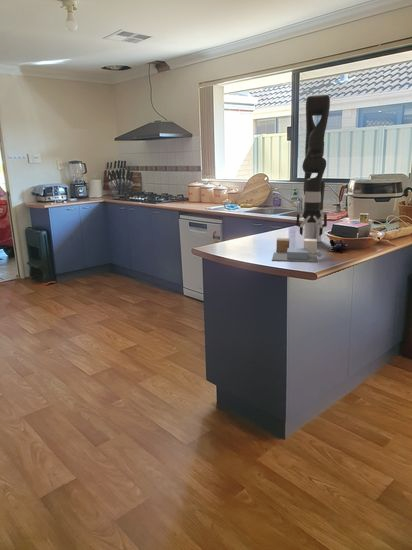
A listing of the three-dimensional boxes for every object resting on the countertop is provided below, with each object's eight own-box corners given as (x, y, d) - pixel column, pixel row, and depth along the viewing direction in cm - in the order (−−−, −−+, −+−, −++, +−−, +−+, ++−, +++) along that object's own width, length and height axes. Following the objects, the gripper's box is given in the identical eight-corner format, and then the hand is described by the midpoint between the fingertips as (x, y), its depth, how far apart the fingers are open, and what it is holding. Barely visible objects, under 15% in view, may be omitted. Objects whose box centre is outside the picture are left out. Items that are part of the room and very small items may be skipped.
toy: (327, 249, 208) (327, 235, 220) (331, 260, 210) (331, 246, 222) (346, 244, 204) (346, 230, 216) (350, 255, 206) (349, 241, 219)
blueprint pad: (273, 253, 207) (274, 246, 206) (316, 254, 203) (317, 247, 202) (271, 260, 192) (272, 253, 191) (318, 262, 188) (318, 254, 187)
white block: (303, 250, 213) (304, 238, 212) (316, 251, 212) (316, 239, 210) (303, 253, 207) (304, 240, 206) (316, 253, 206) (317, 241, 205)
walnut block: (276, 249, 216) (277, 238, 214) (289, 250, 215) (289, 238, 213) (276, 252, 210) (276, 240, 209) (288, 252, 209) (289, 240, 207)
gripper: (327, 200, 205) (325, 234, 209) (297, 200, 208) (295, 233, 212) (328, 201, 198) (326, 236, 202) (297, 201, 201) (295, 236, 205)
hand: (310, 235), depth 207 cm, fingers open, 8 cm apart
